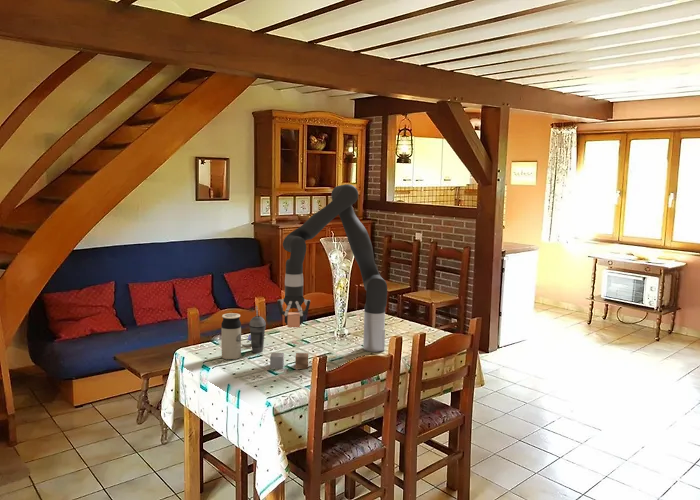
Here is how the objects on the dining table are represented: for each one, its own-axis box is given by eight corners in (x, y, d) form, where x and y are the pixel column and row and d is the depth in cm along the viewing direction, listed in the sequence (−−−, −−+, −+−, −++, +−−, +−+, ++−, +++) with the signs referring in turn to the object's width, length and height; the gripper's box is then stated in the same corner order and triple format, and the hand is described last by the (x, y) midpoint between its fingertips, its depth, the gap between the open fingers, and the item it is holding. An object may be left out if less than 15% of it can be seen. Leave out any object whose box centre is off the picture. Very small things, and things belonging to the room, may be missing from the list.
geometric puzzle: (260, 344, 253) (262, 326, 257) (245, 343, 253) (247, 326, 257) (263, 349, 259) (265, 332, 263) (248, 348, 260) (250, 332, 263)
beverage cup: (252, 354, 245) (252, 309, 242) (246, 349, 251) (246, 305, 248) (268, 352, 248) (268, 307, 245) (262, 347, 255) (262, 303, 252)
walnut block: (308, 364, 235) (308, 353, 234) (307, 369, 230) (308, 357, 229) (295, 364, 234) (296, 353, 234) (295, 369, 229) (295, 357, 229)
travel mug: (217, 357, 240) (217, 315, 238) (231, 352, 247) (231, 311, 244) (231, 361, 236) (231, 318, 233) (244, 356, 242) (244, 314, 240)
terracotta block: (300, 324, 241) (300, 312, 240) (299, 327, 236) (299, 315, 235) (288, 324, 241) (288, 312, 240) (287, 327, 236) (287, 315, 235)
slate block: (283, 364, 234) (283, 352, 233) (282, 369, 229) (282, 356, 228) (271, 364, 234) (271, 352, 233) (270, 368, 229) (270, 356, 228)
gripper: (311, 282, 240) (311, 322, 242) (277, 282, 239) (277, 321, 242) (311, 286, 233) (310, 326, 235) (275, 285, 232) (275, 326, 234)
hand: (293, 324), depth 238 cm, fingers closed on terracotta block, 5 cm apart
